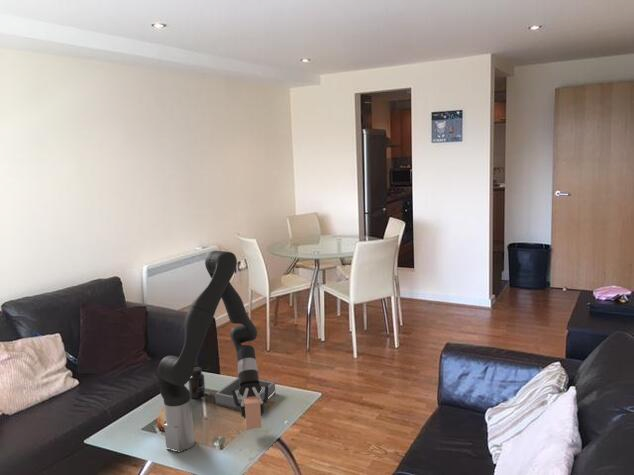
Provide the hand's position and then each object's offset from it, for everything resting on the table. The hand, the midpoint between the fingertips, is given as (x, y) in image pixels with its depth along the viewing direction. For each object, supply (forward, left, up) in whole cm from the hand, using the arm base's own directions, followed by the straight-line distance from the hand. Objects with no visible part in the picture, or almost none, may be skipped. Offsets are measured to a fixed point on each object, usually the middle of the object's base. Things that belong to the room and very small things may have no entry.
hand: (253, 416), depth 191 cm
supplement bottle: (+19, +42, -9) cm, 47 cm away
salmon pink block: (+1, +1, -4) cm, 5 cm away
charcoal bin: (+24, +20, -8) cm, 32 cm away
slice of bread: (-1, +39, -9) cm, 40 cm away
